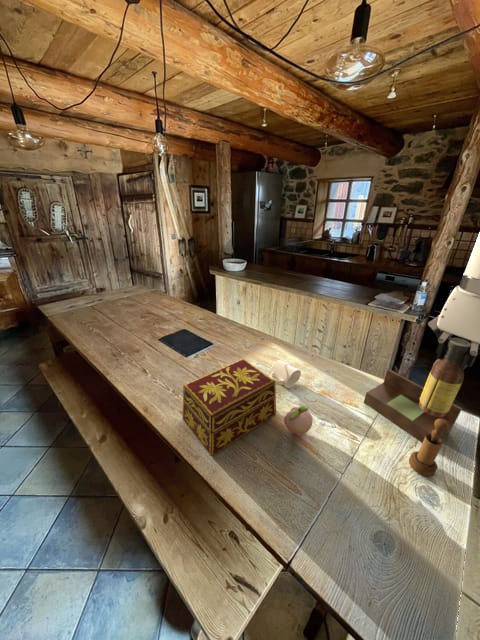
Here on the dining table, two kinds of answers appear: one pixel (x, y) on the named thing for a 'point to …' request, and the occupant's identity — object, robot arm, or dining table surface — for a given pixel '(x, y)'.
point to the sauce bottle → (444, 379)
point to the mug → (284, 374)
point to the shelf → (406, 406)
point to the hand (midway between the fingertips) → (452, 361)
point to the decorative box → (228, 404)
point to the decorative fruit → (298, 420)
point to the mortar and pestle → (429, 451)
